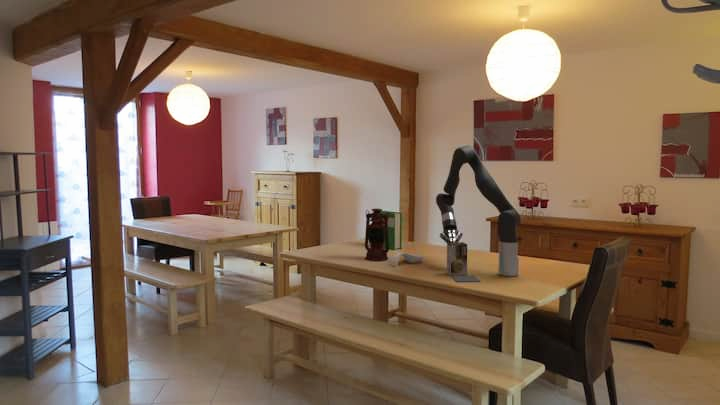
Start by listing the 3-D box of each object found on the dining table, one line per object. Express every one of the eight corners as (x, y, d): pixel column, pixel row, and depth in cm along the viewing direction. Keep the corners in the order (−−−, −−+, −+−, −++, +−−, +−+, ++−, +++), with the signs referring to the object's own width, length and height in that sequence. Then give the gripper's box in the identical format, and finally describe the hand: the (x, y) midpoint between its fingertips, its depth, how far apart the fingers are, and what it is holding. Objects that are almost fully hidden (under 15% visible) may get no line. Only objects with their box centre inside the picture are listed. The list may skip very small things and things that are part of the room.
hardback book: (401, 248, 330) (401, 212, 327) (394, 250, 325) (394, 213, 322) (382, 245, 342) (382, 210, 340) (374, 246, 337) (374, 211, 335)
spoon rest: (411, 259, 298) (411, 247, 297) (427, 261, 290) (427, 249, 289) (385, 265, 280) (386, 252, 280) (402, 268, 272) (402, 255, 272)
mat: (474, 276, 254) (474, 275, 254) (480, 281, 242) (480, 281, 242) (451, 276, 254) (451, 275, 254) (456, 282, 242) (456, 281, 242)
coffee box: (462, 272, 263) (463, 241, 261) (467, 275, 256) (468, 244, 255) (446, 272, 261) (446, 242, 260) (450, 275, 255) (451, 244, 253)
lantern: (358, 259, 296) (358, 209, 293) (371, 255, 307) (371, 207, 304) (382, 262, 286) (382, 210, 283) (395, 258, 297) (395, 208, 294)
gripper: (438, 218, 274) (442, 244, 263) (462, 218, 274) (467, 244, 263) (436, 226, 280) (440, 252, 269) (459, 226, 280) (464, 252, 269)
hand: (453, 248), depth 266 cm, fingers closed
